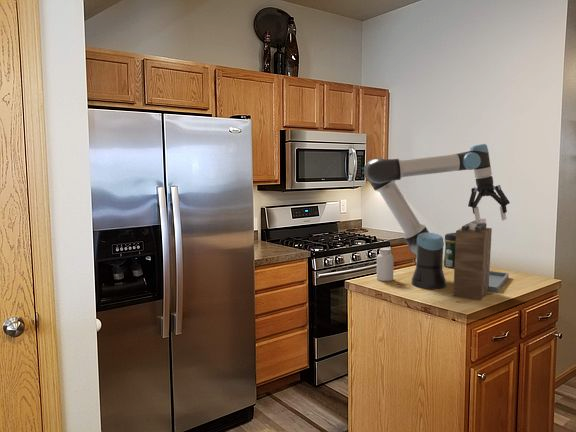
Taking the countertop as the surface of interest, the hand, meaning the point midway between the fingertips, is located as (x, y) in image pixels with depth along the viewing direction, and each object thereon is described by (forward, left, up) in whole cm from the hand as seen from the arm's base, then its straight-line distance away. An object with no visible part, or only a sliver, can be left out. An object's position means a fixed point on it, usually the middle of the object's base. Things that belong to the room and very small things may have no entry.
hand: (490, 220), depth 221 cm
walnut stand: (-12, -31, -29) cm, 44 cm away
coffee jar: (-14, +22, -29) cm, 39 cm away
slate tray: (-4, -8, -29) cm, 30 cm away
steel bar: (-10, -25, -1) cm, 27 cm away
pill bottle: (-49, -15, -29) cm, 59 cm away
